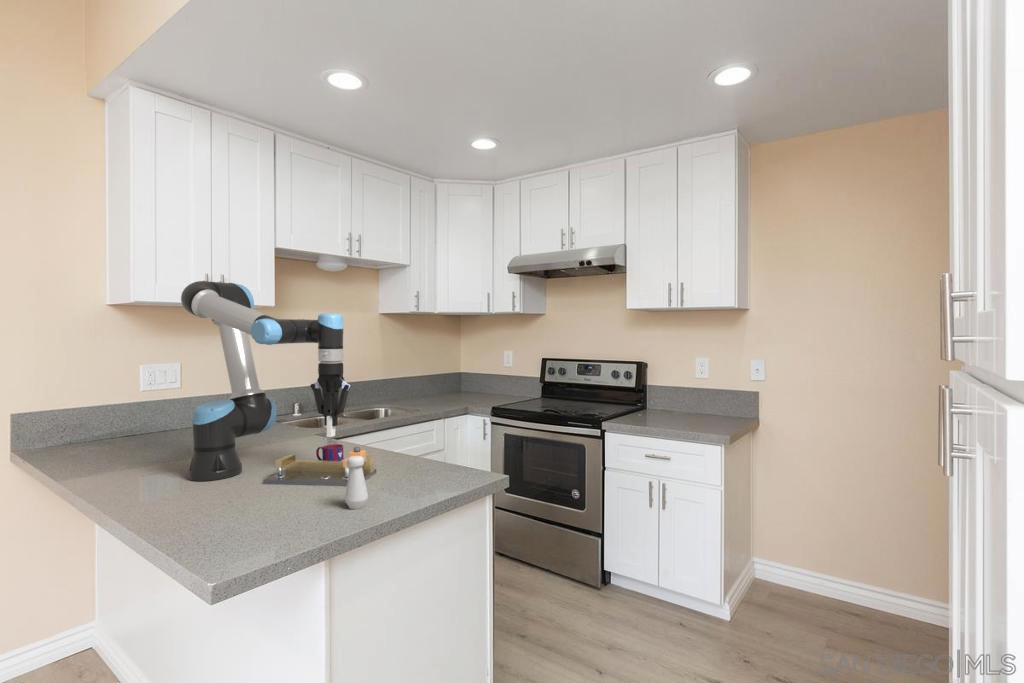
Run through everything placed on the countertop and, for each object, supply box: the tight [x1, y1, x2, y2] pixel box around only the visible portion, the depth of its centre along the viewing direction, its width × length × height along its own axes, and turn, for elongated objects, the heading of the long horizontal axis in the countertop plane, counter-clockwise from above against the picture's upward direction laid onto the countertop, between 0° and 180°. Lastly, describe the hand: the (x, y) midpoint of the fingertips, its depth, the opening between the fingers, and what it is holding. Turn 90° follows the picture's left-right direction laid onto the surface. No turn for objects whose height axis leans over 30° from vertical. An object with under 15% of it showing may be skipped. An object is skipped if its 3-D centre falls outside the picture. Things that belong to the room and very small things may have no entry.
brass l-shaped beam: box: [275, 454, 375, 476], centre depth 160 cm, size 29×9×5 cm, turn 82°
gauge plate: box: [262, 468, 377, 487], centre depth 159 cm, size 30×14×1 cm, turn 82°
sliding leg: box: [343, 446, 367, 477], centre depth 159 cm, size 4×10×7 cm, turn 172°
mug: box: [315, 443, 345, 461], centre depth 174 cm, size 7×10×7 cm
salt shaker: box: [344, 456, 369, 510], centre depth 133 cm, size 6×6×13 cm
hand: (331, 436), depth 163 cm, fingers closed
